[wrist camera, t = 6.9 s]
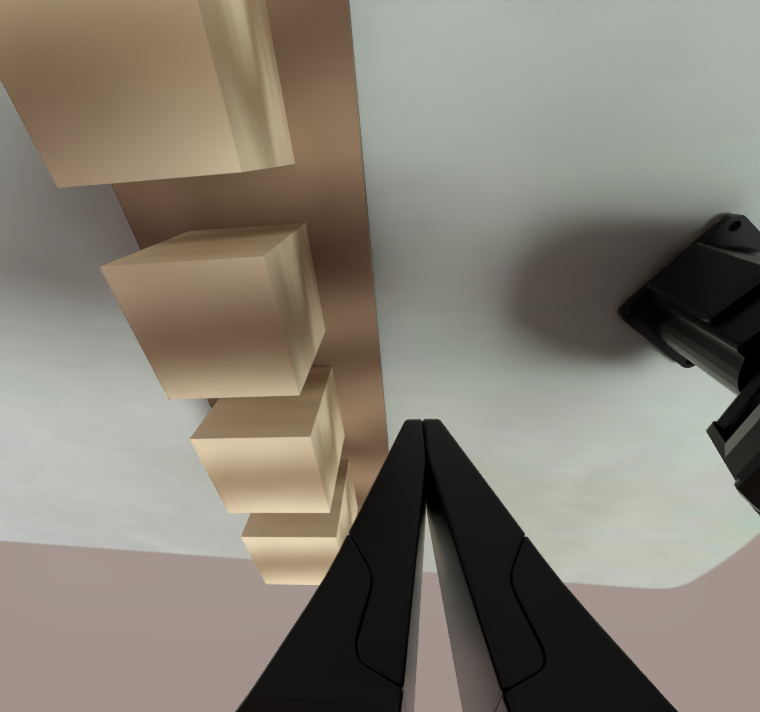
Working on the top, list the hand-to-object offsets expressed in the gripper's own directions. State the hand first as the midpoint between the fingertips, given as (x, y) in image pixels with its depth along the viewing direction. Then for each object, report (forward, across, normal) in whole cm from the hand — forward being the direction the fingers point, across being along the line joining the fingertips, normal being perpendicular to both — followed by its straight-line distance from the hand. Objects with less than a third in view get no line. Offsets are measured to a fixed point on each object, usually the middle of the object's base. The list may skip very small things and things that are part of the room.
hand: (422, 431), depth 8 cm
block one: (+11, +8, -9) cm, 16 cm away
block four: (+11, +8, +17) cm, 22 cm away
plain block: (+11, +8, +8) cm, 16 cm away
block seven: (+11, +8, 0) cm, 14 cm away
